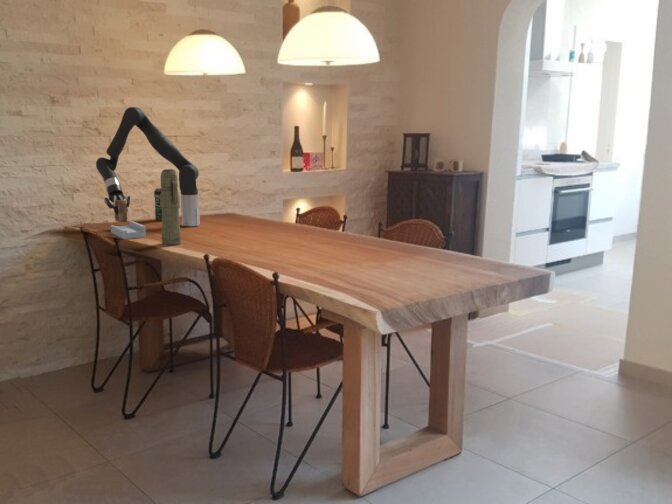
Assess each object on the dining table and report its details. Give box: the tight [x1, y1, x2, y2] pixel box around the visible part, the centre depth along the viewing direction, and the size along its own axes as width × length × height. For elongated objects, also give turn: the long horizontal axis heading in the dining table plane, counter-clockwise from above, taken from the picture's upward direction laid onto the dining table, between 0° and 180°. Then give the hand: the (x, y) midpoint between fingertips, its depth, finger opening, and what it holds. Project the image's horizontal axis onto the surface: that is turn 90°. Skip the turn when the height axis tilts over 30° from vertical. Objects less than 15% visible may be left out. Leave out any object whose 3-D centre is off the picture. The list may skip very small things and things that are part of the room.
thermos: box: [160, 168, 182, 247], centre depth 317 cm, size 9×12×35 cm
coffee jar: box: [154, 187, 162, 222], centre depth 391 cm, size 10×8×19 cm
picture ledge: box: [110, 220, 147, 240], centre depth 343 cm, size 11×22×6 cm, turn 34°
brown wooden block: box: [114, 199, 128, 223], centre depth 357 cm, size 4×8×11 cm, turn 34°
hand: (121, 213), depth 356 cm, fingers closed on brown wooden block, 4 cm apart
